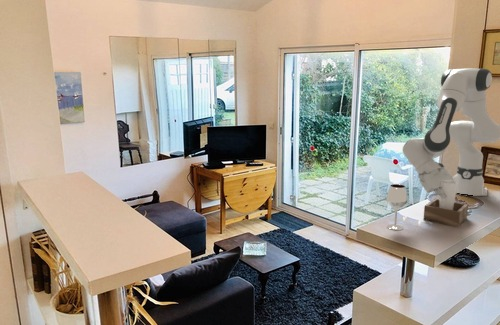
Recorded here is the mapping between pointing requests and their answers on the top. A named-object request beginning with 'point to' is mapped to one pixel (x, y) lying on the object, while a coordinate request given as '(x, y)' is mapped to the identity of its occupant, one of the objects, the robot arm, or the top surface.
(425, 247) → the top surface
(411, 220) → the top surface
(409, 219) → the top surface
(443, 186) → the white rectangular block
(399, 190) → the wineglass
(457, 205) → the walnut crate
